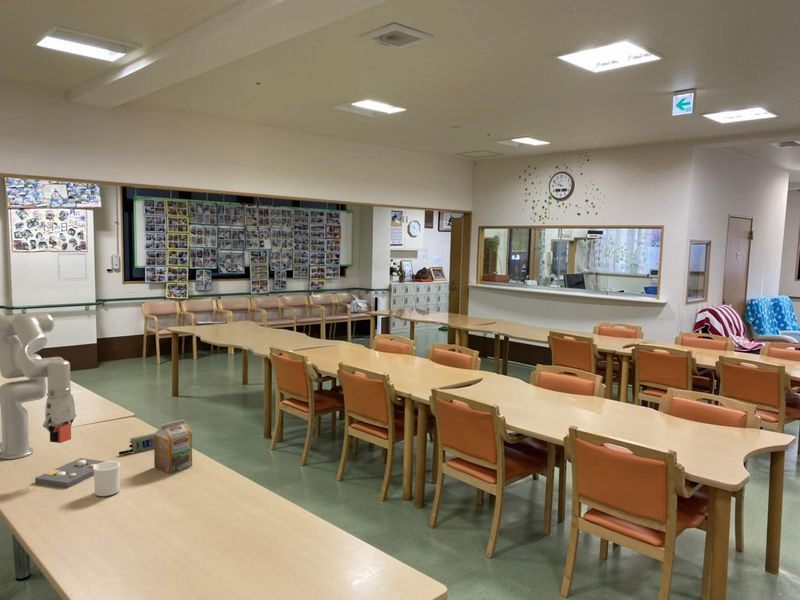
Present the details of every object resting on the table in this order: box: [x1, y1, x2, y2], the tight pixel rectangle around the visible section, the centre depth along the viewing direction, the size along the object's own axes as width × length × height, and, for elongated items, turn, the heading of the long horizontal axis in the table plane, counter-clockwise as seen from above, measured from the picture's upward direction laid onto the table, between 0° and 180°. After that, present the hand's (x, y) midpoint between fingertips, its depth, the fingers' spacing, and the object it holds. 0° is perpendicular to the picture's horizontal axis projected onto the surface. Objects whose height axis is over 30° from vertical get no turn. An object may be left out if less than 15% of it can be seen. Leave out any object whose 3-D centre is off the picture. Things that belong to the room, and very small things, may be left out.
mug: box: [93, 460, 121, 499], centre depth 212 cm, size 11×9×10 cm
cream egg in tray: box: [56, 471, 66, 476], centre depth 223 cm, size 3×3×2 cm
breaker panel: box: [34, 457, 106, 489], centre depth 227 cm, size 15×22×3 cm
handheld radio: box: [118, 432, 155, 456], centre depth 258 cm, size 7×3×25 cm
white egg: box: [77, 460, 86, 467], centre depth 232 cm, size 3×3×2 cm
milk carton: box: [153, 419, 193, 475], centre depth 237 cm, size 11×11×19 cm
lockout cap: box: [49, 423, 72, 444], centre depth 221 cm, size 5×5×6 cm
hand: (60, 438), depth 221 cm, fingers closed on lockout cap, 4 cm apart
